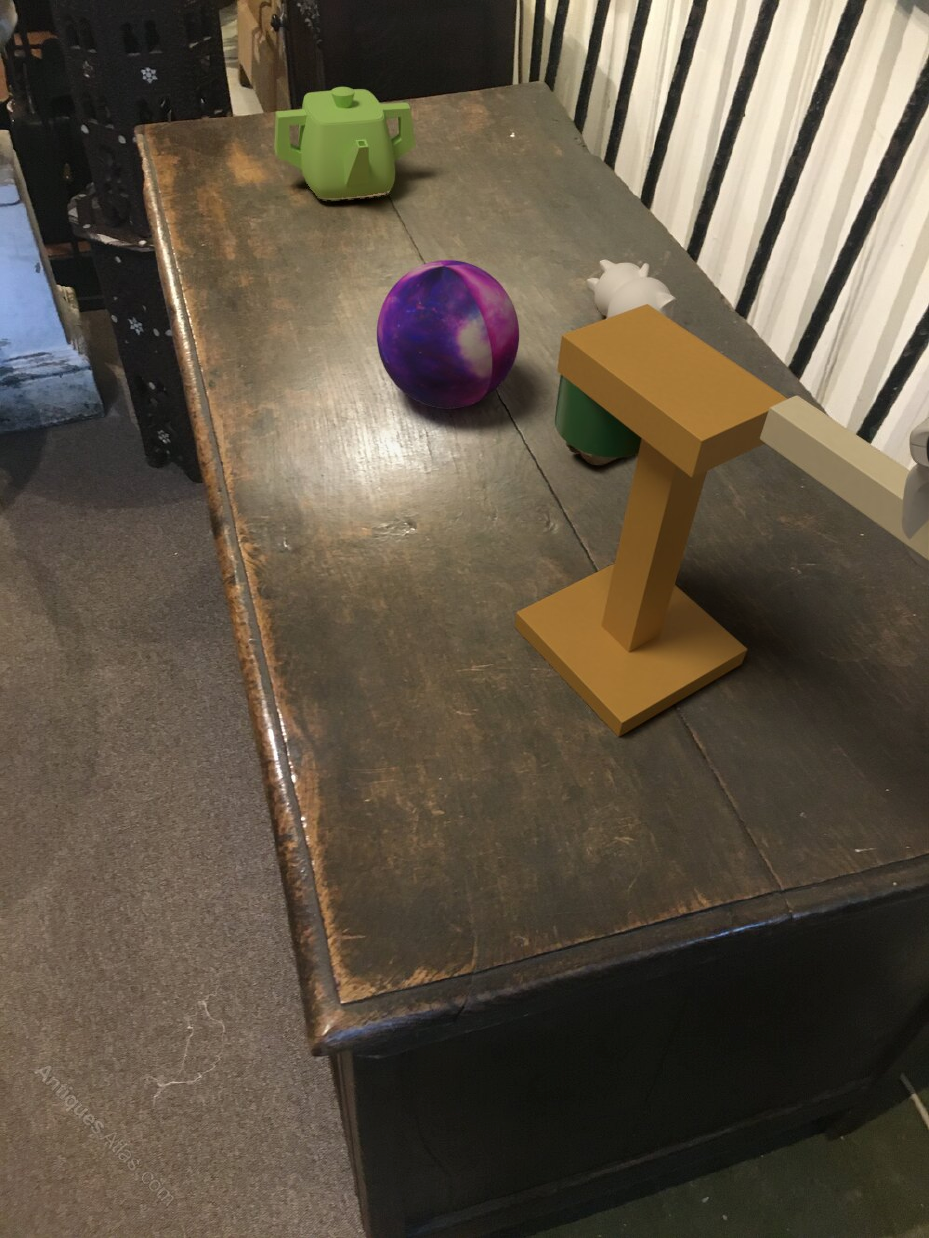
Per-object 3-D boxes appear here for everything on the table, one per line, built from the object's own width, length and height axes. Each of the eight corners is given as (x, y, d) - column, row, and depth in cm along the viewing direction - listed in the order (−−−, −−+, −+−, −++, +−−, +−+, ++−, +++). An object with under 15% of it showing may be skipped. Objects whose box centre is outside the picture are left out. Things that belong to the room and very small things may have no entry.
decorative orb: (452, 343, 115) (457, 220, 104) (541, 402, 108) (556, 276, 97) (351, 389, 108) (344, 262, 97) (438, 455, 101) (441, 326, 90)
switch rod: (998, 575, 53) (1022, 538, 51) (966, 596, 52) (990, 558, 49) (787, 428, 61) (800, 390, 59) (755, 442, 60) (768, 405, 58)
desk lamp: (742, 664, 83) (845, 401, 63) (618, 737, 78) (689, 475, 58) (606, 541, 93) (659, 280, 73) (487, 599, 87) (509, 333, 67)
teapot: (433, 214, 137) (435, 117, 127) (291, 228, 132) (282, 128, 123) (402, 159, 148) (401, 66, 139) (271, 170, 144) (261, 75, 134)
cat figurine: (609, 234, 115) (656, 281, 107) (667, 270, 121) (716, 316, 113) (566, 298, 119) (609, 347, 111) (625, 329, 125) (669, 378, 117)
